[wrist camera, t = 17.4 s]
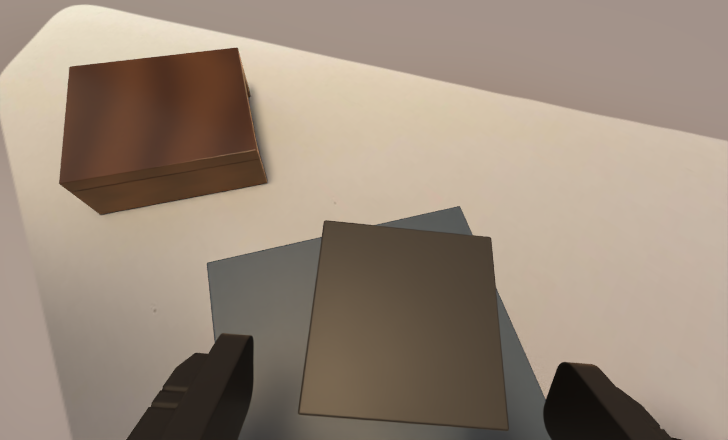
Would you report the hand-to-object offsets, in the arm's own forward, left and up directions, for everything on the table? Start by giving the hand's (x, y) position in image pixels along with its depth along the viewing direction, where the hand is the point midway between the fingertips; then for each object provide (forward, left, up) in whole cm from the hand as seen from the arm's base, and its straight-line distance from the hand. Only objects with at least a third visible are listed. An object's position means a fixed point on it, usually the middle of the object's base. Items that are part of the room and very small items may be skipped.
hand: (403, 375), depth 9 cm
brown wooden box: (-11, +24, -18) cm, 32 cm away
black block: (0, +1, -7) cm, 7 cm away
